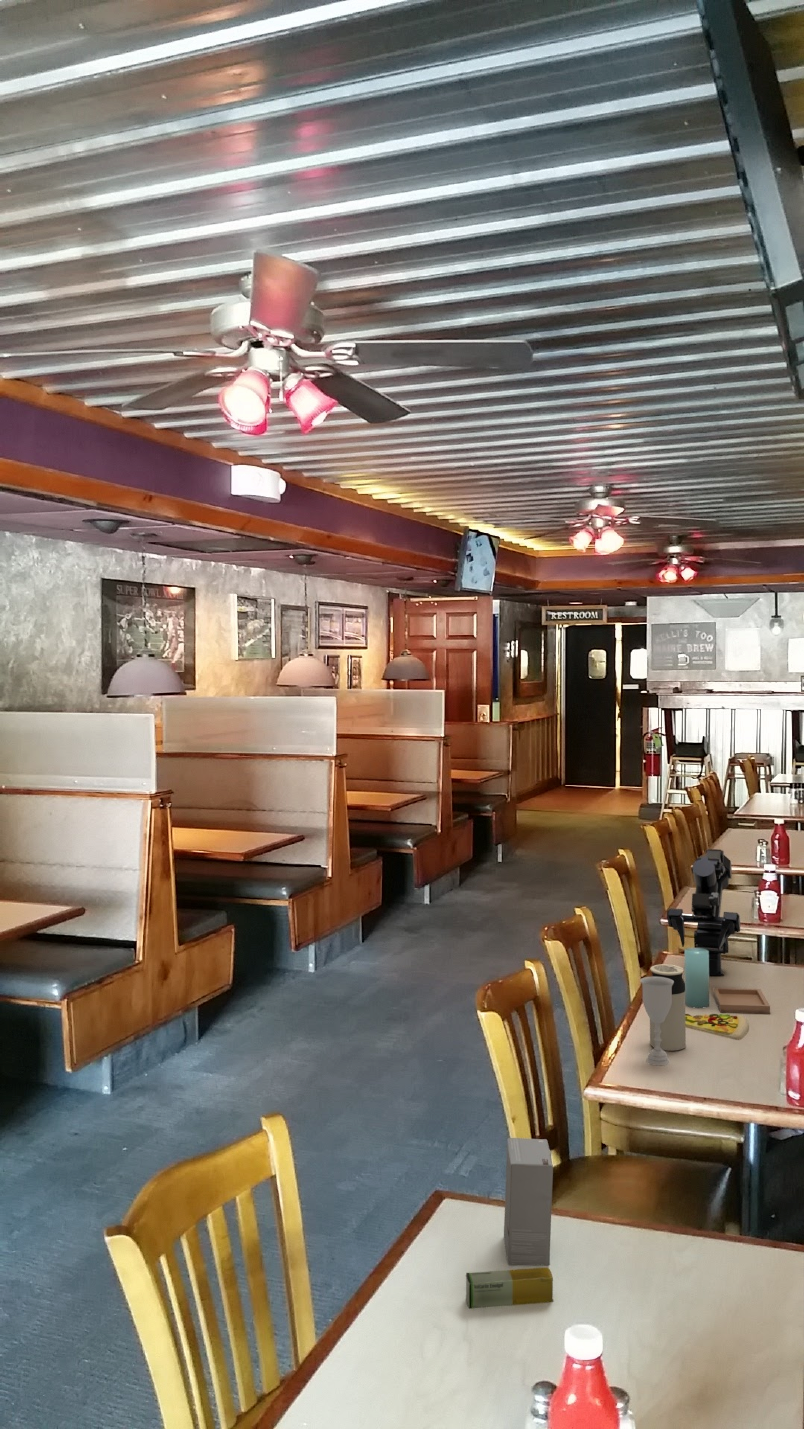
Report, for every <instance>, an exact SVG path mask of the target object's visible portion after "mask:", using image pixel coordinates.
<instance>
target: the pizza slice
mask: <svg viewBox="0 0 804 1429" xmlns="http://www.w3.org/2000/svg"><path fill="white" fill-rule="evenodd" d="M749 1027H750V1025H749V1022H748V1019H747V1018H746V1016H745V1015H743V1014H737V1015H730V1014H729V1013H725V1014H721V1013H720V1014H717V1013H711V1014H704V1015H701V1014H698V1015H697V1014H696V1015H691V1014H689V1013H685V1028H687V1029H691V1030H694V1031H695V1030H696V1031H699V1032H704V1033H708V1034H711V1035H715V1036H720V1037H722V1038H723V1037H724V1038H727V1039H728V1038H729V1039H731V1040H736V1041H740V1040H742V1039H744V1038H745V1036H746V1035H747V1034H748V1032H749V1029H750V1028H749Z"/></svg>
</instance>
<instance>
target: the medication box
mask: <svg viewBox="0 0 804 1429" xmlns="http://www.w3.org/2000/svg"><path fill="white" fill-rule="evenodd" d="M553 1282H554V1276H553V1274H552V1272H551V1269H550V1268H549V1267H547V1266H546V1267H534V1268H521V1269H520V1268H519V1269H505V1270H492V1271H489V1270H488V1271H478V1272H477V1271H476V1272H475V1271H474V1272H466V1273H465V1302H466V1305H467V1308H468V1309H469V1310H470V1309H484V1308H496V1307H498V1308H499V1307H508V1306H509V1307H510V1306H520V1305H523V1306H524V1305H533V1304H544V1303H545V1304H546V1303H552V1302H554V1299H553V1298H554V1296H553V1292H554V1289H553V1288H554V1287H553V1286H554V1283H553Z"/></svg>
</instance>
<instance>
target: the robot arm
mask: <svg viewBox="0 0 804 1429" xmlns="http://www.w3.org/2000/svg"><path fill="white" fill-rule="evenodd" d="M691 873H692V874H693V880H694V883H695V893H694V892H693V893H691V912H692V914H691V913H689V914H688V913H684V910H683V908H674V907H673V908H672V907H669V908H668V909H667V910H666V919H667V923H668V927H670V928H672V930H674V931H677V933H678V936H679V938H680V942H681V947H682V948H684V947H685V940H686V939H685V938H686V937H685V935H686V934H685V923H696V924H697V926H696V930H694V934H693V944H694V946H693V948H703V949H706V950H708V951H709V976H722V977H723V976H725V973H724V971H723V968H722V954H723V955H726V954H729V937H730V936H731V935H735V934H736V933H740V932H741V918H740V914H739V913H738V912H732V911H731V912H730V911H728V912H727V911H723V916H721V910H722V899H723V891H724V890H725V889H726V888H727V887H729V884H730V879H732V873H733V872H732V861H731V860H730V859H729V858H728V857H727V856H726V855H725V851H724V850H722V849H714V848H713V849H712V848H708V849H705V855H704V856H702V855H701V856H698V857H697V858H696V860H695V861H693V864H692V867H691Z"/></svg>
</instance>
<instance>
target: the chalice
mask: <svg viewBox="0 0 804 1429" xmlns="http://www.w3.org/2000/svg"><path fill="white" fill-rule="evenodd" d="M639 981H640V983H641V985H642V1004H643V1007H644V1009H645V1012H646V1014H647V1016H648V1018H649V1021H650V1020H651V1021H652V1022H654V1023H655V1030H654V1032H655V1038H654V1039H653V1040H654V1041H655V1044H656V1045H655V1047H653V1048H652V1049H651V1050H649V1052H648V1054H647V1058H646V1060H645V1061H646V1063H647V1064H650V1065H653V1066H666V1065H669V1064H670V1060H669V1057H668V1055H667V1051H664V1050H662V1049H661V1048H660V1041H661V1040H662V1039H661V1038H660V1033H661V1030H660V1023H662V1022H664V1020H665V1018H666V1016H667V1014H668V1013H669V1010H670V1007H671V1004H672V985H673V983H674V981H673V980H671V979H669V978H664V977H652V976H645V977H642V978H640V980H639Z"/></svg>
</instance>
